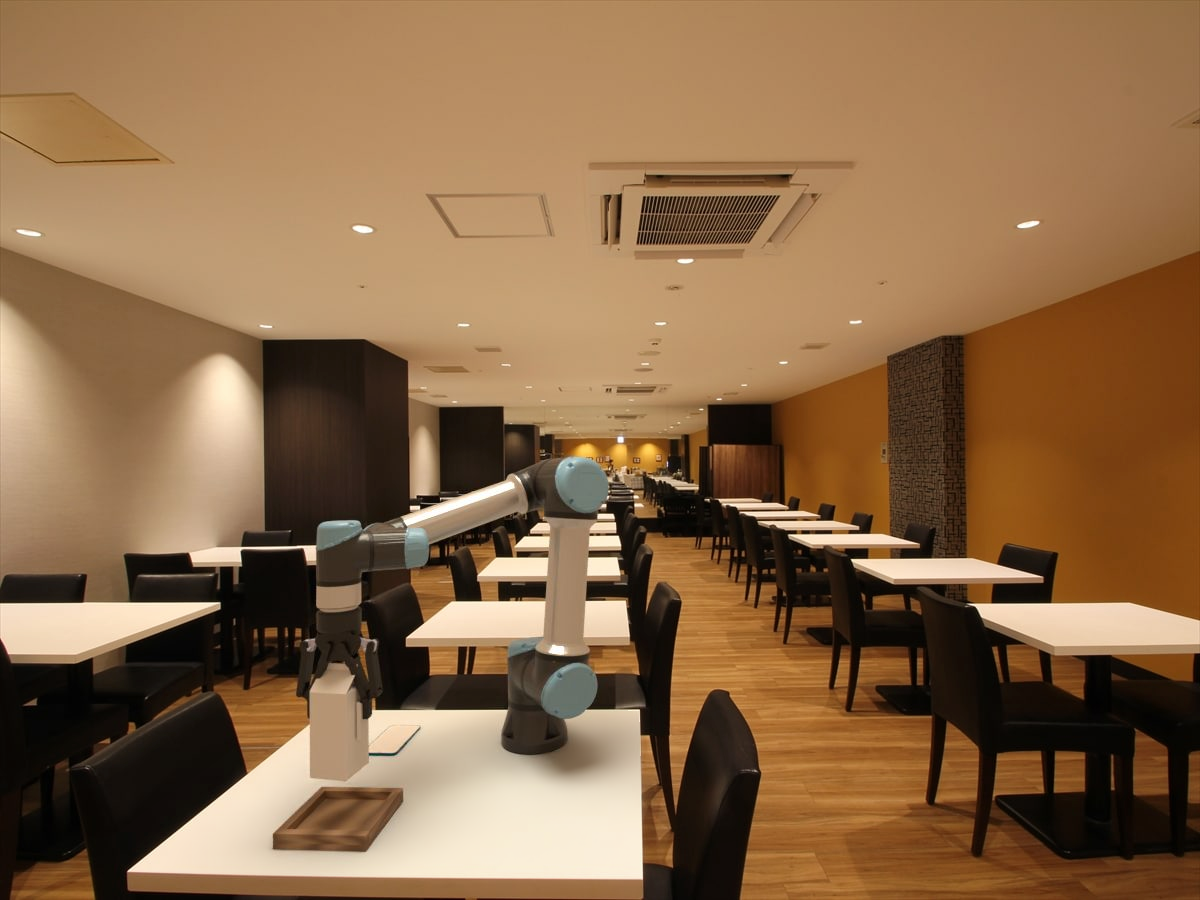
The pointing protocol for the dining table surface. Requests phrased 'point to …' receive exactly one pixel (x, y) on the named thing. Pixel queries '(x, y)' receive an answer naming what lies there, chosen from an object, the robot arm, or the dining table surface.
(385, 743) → the smartphone
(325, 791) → the holder
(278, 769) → the dining table surface
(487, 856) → the dining table surface
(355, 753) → the milk carton
